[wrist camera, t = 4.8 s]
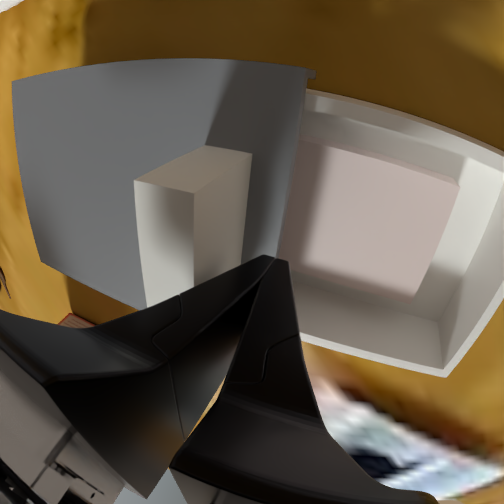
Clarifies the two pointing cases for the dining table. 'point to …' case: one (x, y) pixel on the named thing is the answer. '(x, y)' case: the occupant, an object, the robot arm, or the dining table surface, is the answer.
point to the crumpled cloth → (8, 4)
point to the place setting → (1, 275)
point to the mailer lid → (158, 169)
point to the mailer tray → (393, 234)
